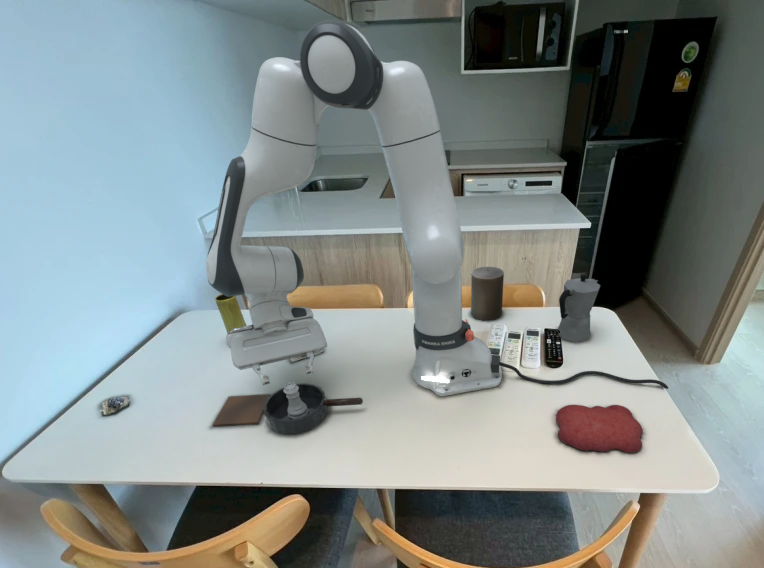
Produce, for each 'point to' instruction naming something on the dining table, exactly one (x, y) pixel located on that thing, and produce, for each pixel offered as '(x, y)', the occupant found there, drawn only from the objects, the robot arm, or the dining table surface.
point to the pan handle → (343, 401)
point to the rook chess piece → (294, 401)
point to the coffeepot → (577, 308)
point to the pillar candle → (487, 293)
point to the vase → (230, 312)
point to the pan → (285, 425)
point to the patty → (599, 428)
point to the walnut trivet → (241, 410)
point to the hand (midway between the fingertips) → (288, 378)
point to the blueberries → (114, 405)
